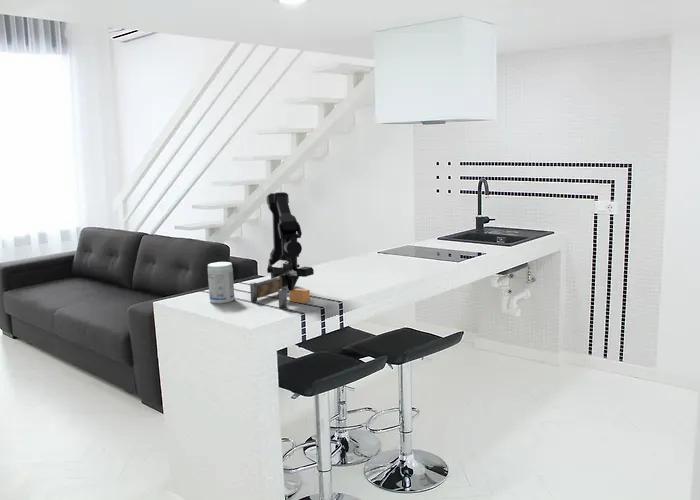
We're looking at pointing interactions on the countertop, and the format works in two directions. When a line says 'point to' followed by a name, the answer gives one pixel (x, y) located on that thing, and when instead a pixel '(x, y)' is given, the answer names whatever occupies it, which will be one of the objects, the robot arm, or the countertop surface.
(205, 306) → the countertop surface
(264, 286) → the gate
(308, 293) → the orange-brown rectangular block
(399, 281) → the countertop surface
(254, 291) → the gate posts
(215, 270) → the supplement tub
